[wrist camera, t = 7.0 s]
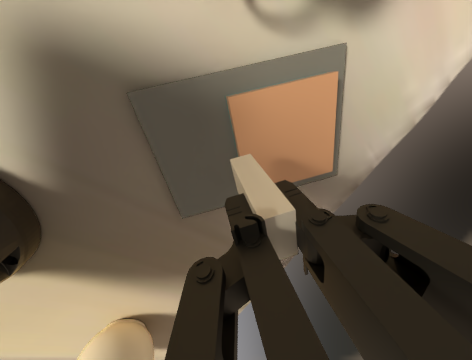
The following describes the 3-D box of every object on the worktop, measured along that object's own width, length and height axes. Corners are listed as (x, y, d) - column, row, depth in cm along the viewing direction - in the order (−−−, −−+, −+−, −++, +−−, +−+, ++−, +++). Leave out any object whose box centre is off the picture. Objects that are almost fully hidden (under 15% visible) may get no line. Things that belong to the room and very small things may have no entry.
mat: (182, 215, 23) (182, 218, 23) (128, 92, 16) (126, 92, 16) (333, 173, 25) (336, 175, 24) (342, 43, 18) (346, 42, 17)
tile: (247, 194, 21) (332, 171, 21) (227, 97, 16) (338, 71, 17) (243, 186, 22) (323, 165, 23) (225, 96, 17) (326, 71, 18)
